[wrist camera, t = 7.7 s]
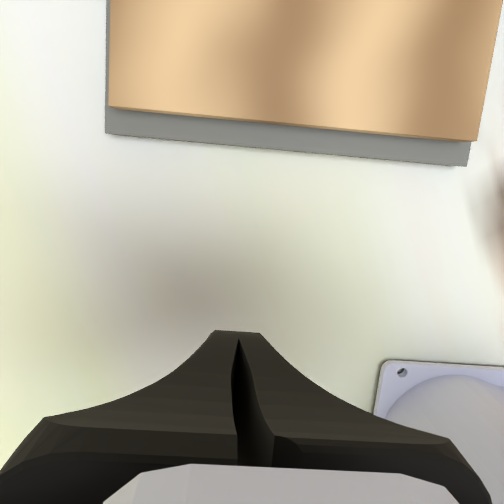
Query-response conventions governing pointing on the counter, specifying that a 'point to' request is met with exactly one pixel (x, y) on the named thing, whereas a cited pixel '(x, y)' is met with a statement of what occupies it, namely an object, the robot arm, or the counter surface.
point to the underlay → (278, 134)
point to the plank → (308, 62)
